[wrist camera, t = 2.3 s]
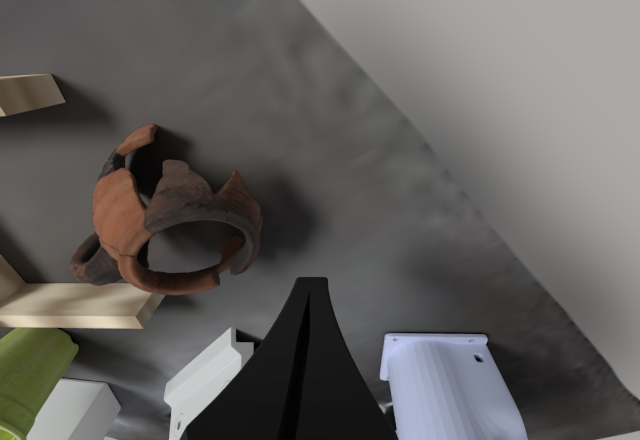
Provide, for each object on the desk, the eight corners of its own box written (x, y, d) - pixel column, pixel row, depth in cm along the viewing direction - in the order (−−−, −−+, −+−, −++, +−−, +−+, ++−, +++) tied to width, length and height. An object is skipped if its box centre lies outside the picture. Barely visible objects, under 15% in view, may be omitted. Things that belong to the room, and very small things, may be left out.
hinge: (233, 325, 27) (232, 454, 20) (272, 330, 30) (283, 445, 23) (164, 384, 34) (147, 494, 28) (201, 384, 37) (194, 483, 31)
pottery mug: (176, 78, 16) (194, 159, 11) (267, 174, 23) (302, 247, 18) (26, 196, 17) (-19, 318, 12) (159, 251, 24) (165, 339, 20)
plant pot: (6, 297, 26) (-119, 393, 19) (105, 337, 29) (30, 434, 22) (-3, 339, 31) (-108, 432, 23) (85, 371, 34) (16, 461, 26)
